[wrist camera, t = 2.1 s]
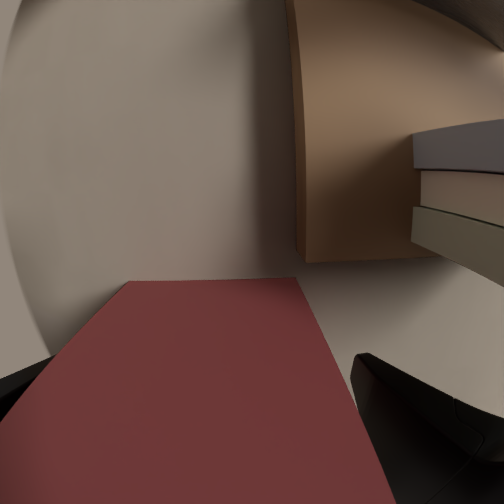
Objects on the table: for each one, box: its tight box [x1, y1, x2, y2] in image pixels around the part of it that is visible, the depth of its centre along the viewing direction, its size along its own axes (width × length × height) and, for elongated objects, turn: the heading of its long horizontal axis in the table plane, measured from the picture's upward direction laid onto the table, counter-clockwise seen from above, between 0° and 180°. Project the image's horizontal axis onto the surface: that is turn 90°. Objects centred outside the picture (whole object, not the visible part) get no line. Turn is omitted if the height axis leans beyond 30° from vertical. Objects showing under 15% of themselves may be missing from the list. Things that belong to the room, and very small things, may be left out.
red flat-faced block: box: [0, 277, 396, 504], centre depth 5 cm, size 4×6×9 cm, turn 92°
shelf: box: [285, 0, 504, 263], centre depth 7 cm, size 14×14×2 cm
